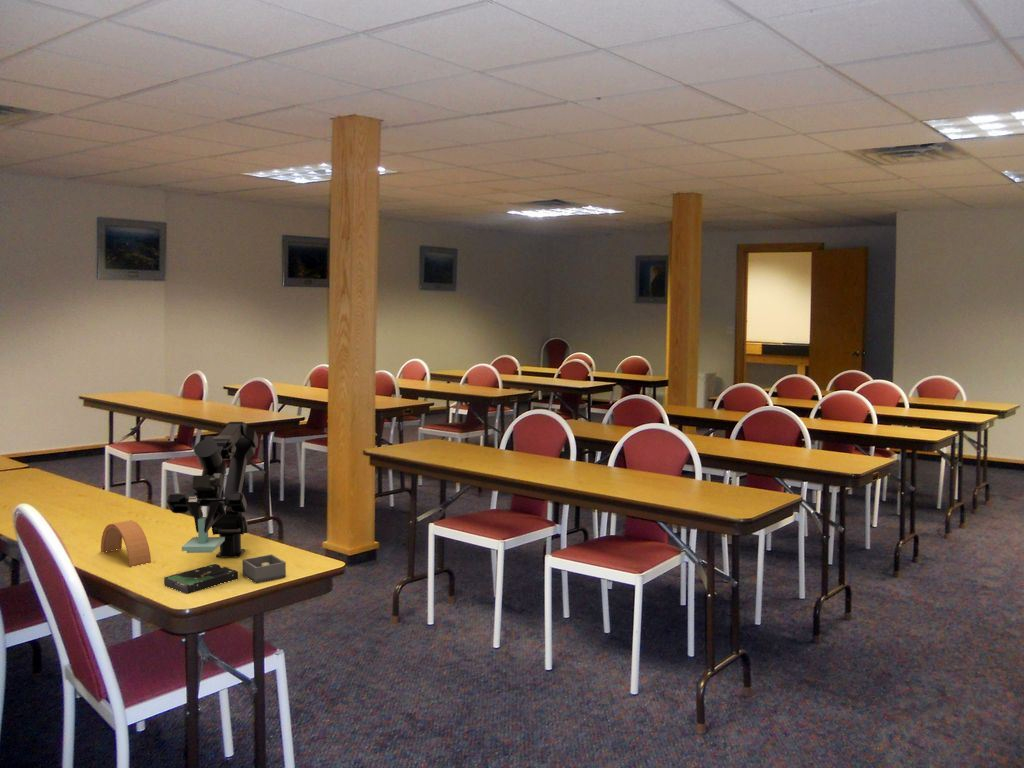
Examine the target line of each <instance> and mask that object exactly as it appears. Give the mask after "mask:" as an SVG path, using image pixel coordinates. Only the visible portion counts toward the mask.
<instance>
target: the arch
mask: <svg viewBox="0 0 1024 768" xmlns="http://www.w3.org/2000/svg"><path fill="white" fill-rule="evenodd" d="M100 540H101V541H100V553H102V552H104V553H107V552H106V551H110V552H112V551H111V550H115V551H117V550H116V549H120V550H122V549H123V542H124V545H125V548H126V552H127V557H128V564H129V565H128V566H130V567H129V568H133V567H132V566H134V567H138V566H137V565H139V566H142V565H141V564H143V565H147V564H146V563H148V564H151V563H152V559H151V558H152V557H151V551H150V546H149V543H148V539H147V536H146V533H145V531H144V530H143V528H142V527H141V526H140V524H139V523H138V522H137V521H135V520H126V521H121V522H113V523H109V524H107V525H106V526H105V528H104V529H103V532H102V535H101V539H100ZM121 548H122V549H121Z"/></svg>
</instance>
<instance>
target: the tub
mask: <svg viewBox="0 0 1024 768" xmlns="http://www.w3.org/2000/svg"><path fill="white" fill-rule="evenodd" d="M241 560H242V575H243V576H244V577H245V578H247V579H248V578H249V579H248V580H250V581H251V580H252V581H251V582H253V583H254V582H255V584H260V582H261V583H265V581H266V582H271V581H275V579H276V580H280V579H285V577H286V578H287V573H286V572H287V571H286V570H287V566H286V561H284V560H283V559H281V558H279V557H277V556H276V555H274V554H267V555H260V556H256V557H255V556H254V557H250V558H244V559H241ZM270 580H271V581H270Z"/></svg>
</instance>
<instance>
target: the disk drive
mask: <svg viewBox="0 0 1024 768" xmlns="http://www.w3.org/2000/svg"><path fill="white" fill-rule="evenodd" d="M236 579H237V580H239V571H238V570H235V569H232V568H229V567H227V566H223V567H221V565H220V564H217V563H214V564H212V563H211V564H209V565H206V566H202V567H198V568H194V569H190V570H186V571H182V572H179V573H176V574H171V575H168V576H164V577H163V582H164V583H163V584H164V585H165V586H164V585H163V586H164V587H166V586H167V588H169V587H170V588H169V589H171V588H173V589H172V590H174V589H176V590H175V591H177V590H178V591H177V592H180V591H181V593H183V594H185V593H186V595H189V594H192V593H196V592H199V591H202V589H203V590H206V589H209V588H212V587H211V586H213V587H215V586H214V585H216V586H219V585H218V584H220V583H223V584H225V583H224V582H226V583H229V582H228V581H230V582H233V581H232V580H234V581H236ZM220 585H221V584H220ZM208 587H209V588H208ZM205 588H206V589H205Z"/></svg>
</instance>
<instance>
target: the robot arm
mask: <svg viewBox="0 0 1024 768" xmlns="http://www.w3.org/2000/svg"><path fill="white" fill-rule="evenodd" d="M258 446H259V437H258V434H257V432H256V430H254V429H252V428H251V427H249V426H248V425H247V423H246V422H244V421H228V422H227V423H226V426H225V427H224V428H223V429H222V431H221V432H220V433H219V434H218V435H216V436H215V435H214V436H212V435H211V436H210V435H207V436H206V435H205V436H204V439H203V440H200V441H199V442H198V443H196V444H195V445H194V449H193V451H194V452H193V453H194V454H195V457H196V459H197V461H198V464H199V466H200V468H202V473H201V475H193V476H192V482H191V483H192V484H191V489H192V490H193V494H194V496H188V497H187V494H186V493H185V492H172V493H170V494H169V495H168V496H167V500H166V503H167V505H168V507H169V509H170V511H171V513H173V514H186V513H187V512H189V513H190V515H191V516H193V519H194V524H195V531H196V533H197V534H198V519H200V518H201V517H204V513H203V510H202V507H208V508H209V509H208V513H207V516H206V517H207V520H206V523H205V528H204V532H205V533H207V531H208V532H209V530H210V529H211V533H212V536H213V535H214V536H215V535H219V536H218V537H225V541H224V542H223V543H222V544H221V545H220V546H219V552H218V553H217V554H215V557H216V558H238V557H241V556H242V554H243V553H244V552H245V551H246V549H245V548H242V541H241V540H242V535H244V534H247V533H249V531H248V529H249V527H248V521H247V517H246V515H245V513H246V511H247V508H248V507H247V506H248V505H247V504H248V503H247V500H246V496H245V494H244V493H243V492H242V491H243V487H244V480H245V476H246V471H247V465H248V462H249V461H250V460H251V459H252V458H253V457H254V456H255V454H256V449H257V448H258ZM225 460H228V461H229V460H230V462H229V468H228V472H227V467H228V465H227V463H226V461H225ZM226 474H227V478H226V482H225V477H226ZM224 482H225V487H224ZM222 492H223V497H221V496H222Z"/></svg>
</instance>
